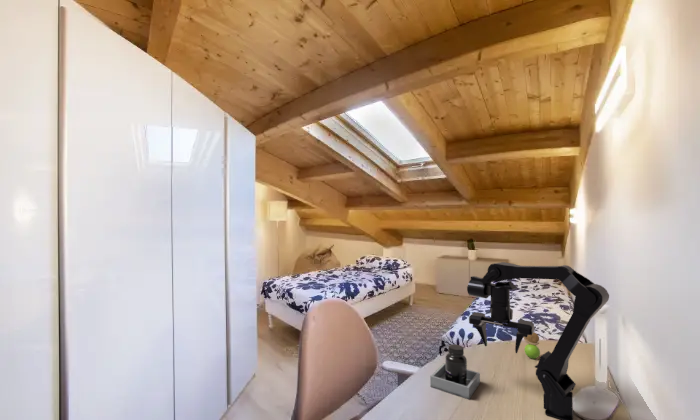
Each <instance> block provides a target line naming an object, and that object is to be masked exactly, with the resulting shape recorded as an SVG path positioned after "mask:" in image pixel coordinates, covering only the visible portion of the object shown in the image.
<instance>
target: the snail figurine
mask: <svg viewBox="0 0 700 420" xmlns="http://www.w3.org/2000/svg"><path fill="white" fill-rule="evenodd" d="M523 340H524V342H525V343H527V344H526V345H525V346H524V353H525V355H526V356H527V357H528V358H530V359H532V360H533V359H534V360H535V359H538V358H540V356H541V351H540V349H539V347H538V345H539V344H540V342H539V341H540V336H539V335H538V333H536V332H533V334H532V335H528V336H527V337H523Z"/></svg>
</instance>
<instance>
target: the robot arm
mask: <svg viewBox="0 0 700 420" xmlns="http://www.w3.org/2000/svg"><path fill="white" fill-rule="evenodd" d="M516 279H531V280H532V279H534V280H558V281H560V282H561V283H562V285H563V286H564V287H565V288H566V289H567V291H569V293H571V294H572V295H573V296H574V301H573V310H572V313H571V316H570V318H569V320H568V321H567V323H566V325H565V327H564V329H563V331H562V333H561V335H560V337H559V338H558V341H557V342H556V344H555V345H554V348H553V350H552V352H550V351H549V350H548V351H546V352H544V353H543V354H542V355H540V356H539V360H538V363H537V364H536V365H535V366H534V368H535V376H536V378H537V380H538V381H539V383H540V385H541V388H542V390H543V409H544V410H545V411H544V414H545V415H547V416H549V417H552V418H555V419H559V420H574V415H575V411H574V402H573V401H574V399H573V398H574V397H573V394H574V393H573V392H572V391H573V390H574V389H575V387H576V382H575V381H574V380H573V379H572V378H571V376H570V375H569V374H568V373H567V372H568V371H569V370H568V369H569V361H570V358H571V356H572V354H573V352H574V350H575V348H576V347H577V345H578V343H579V341H580V339H581V338H582V336H583V334H584V332H585V330H586V329H587V327H588V324H589V323H590V322H591V320H592V318H594V316H595V315H597V313H598V312H600V310H601V309H603V308H604V306H605V305H606V304H607V302H608V301H609V299H610V294H609V292H608V290H607V289H606V288H605V287H604V286H602V285H600V284H598V283H594V282H593V281H592V280H590V279H589V278H588V277H587V276H586V277H585V276H584V275H583V274H582V273H579V272H577V271H576V270H575V269H574V268H573V267H571V266H569V265H565V264H564V265H518V264H515V263H510V262H504V261H501V262H496V263H491V264H490V265H489V266H488V267H487V272H486V273H485V274H484V275H483V277H479V276H475V275H474V276H473V275H472V276H470V280H469V282H468V283H467V286H466V292H467V294H468V295H469V296H472V297H475V298H476V297H477V298H482V299H488V298H489V297H490V305H489V307H490V308H489V312H490V317H489V316H488V317H487V316H486V314H485V313H484V312H478V311H476V312H475V311H474V312H473V313H472V314H470V315H469V316H468V324H470V325H472V327H474V328H475V329H476V330H477V332H478V334H479V336H480V337H481V340H482V343H483V345H484V346H485V347H487V346H488V337H487V336H488V335H487V324H489V325H490V324H491V325H496V326H501V327H506V328H513V329H516V330H517V332H516V335H515V348H514V350H515V354H518V352H519V349H520V346H521V343H522V340H524V338H523V337H527V336H528V335H532V334H533V332H534V331H535V324H534V322H533V321H531V320H525V319H519V321H518V322H517V321H512V320H513V314H514V309H512V308H511V296H510V294H511V292H510V291H512V290H515V289H517V288H518V287H517V286H516V284H514V283H513V282H512V281H511V280H516ZM508 280H509V281H508ZM504 281H506V282H504ZM494 282H496V283H494Z"/></svg>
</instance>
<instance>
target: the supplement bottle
mask: <svg viewBox="0 0 700 420" xmlns="http://www.w3.org/2000/svg"><path fill="white" fill-rule="evenodd" d="M464 350H465V348H464V347H463V346H462V345H459V344H450V345H448V353H446V355H445V361H444V363H445V380H448V381H451V382H455V383H458V384H461V385H464V386H466V384H467V369H468V368H467V367H468V364H467V363H468V361H467V357H466V355H464V354H465V353H464Z"/></svg>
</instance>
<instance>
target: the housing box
mask: <svg viewBox="0 0 700 420" xmlns="http://www.w3.org/2000/svg"><path fill="white" fill-rule="evenodd" d="M480 383H481V373H480V372H479V371H475V370H471V369H468V368H467V384H466V386H464V385H461V384H458V383H455V382H451V381H448V380H445V362H444V363H442V365H440V367H438V369H436V370H435V371H434V372H433V373H432V374H431V375H430V387H431V388H433V389H435V390H439V391H442V392H444V393H448V394H451V395H454V396H457V397H460V398H462V399H466V400H470V399H471V397H472V396H473V394H474V393H475V392H476V390H477V389H478V387H479V385H480Z"/></svg>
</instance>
